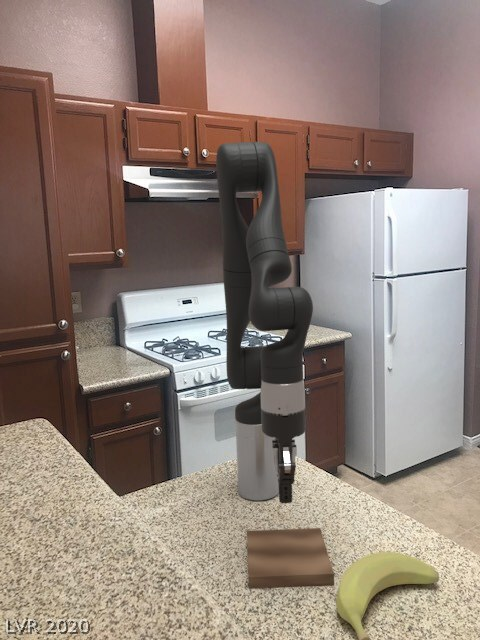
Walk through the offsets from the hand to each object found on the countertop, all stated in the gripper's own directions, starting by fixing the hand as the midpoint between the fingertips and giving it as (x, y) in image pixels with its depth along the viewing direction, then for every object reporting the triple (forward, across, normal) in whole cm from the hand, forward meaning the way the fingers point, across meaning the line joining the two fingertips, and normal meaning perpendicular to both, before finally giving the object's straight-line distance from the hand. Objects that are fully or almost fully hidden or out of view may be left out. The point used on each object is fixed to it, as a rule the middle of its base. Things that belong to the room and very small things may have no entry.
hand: (285, 501), depth 92 cm
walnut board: (+11, 0, 0) cm, 11 cm away
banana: (+9, +4, +18) cm, 21 cm away
